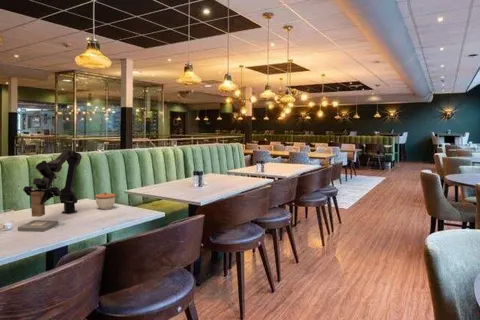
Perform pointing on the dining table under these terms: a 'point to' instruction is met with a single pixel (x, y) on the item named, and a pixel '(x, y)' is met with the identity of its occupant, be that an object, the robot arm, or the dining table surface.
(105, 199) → the lidded bowl
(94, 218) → the dining table surface
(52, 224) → the foundation slab
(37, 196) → the walnut pillar
